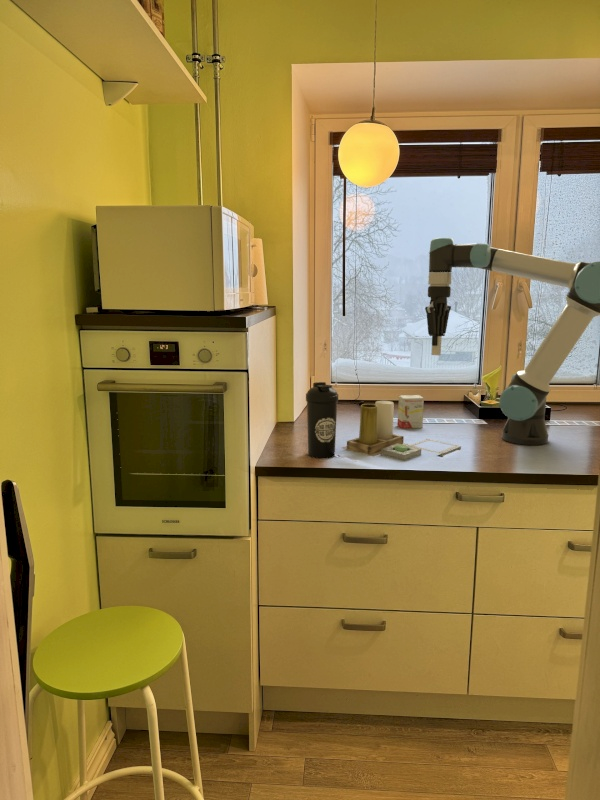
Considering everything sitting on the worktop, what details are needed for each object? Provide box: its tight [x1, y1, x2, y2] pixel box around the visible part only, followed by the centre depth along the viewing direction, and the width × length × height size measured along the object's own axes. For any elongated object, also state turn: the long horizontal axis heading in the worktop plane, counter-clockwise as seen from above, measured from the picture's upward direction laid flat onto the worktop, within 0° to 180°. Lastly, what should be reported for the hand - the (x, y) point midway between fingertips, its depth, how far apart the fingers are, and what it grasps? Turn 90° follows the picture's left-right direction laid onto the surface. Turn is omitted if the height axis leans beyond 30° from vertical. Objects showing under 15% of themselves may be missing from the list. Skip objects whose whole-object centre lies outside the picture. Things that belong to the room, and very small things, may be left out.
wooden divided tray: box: [342, 433, 409, 457], centre depth 194 cm, size 13×19×4 cm
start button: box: [395, 445, 408, 452], centre depth 184 cm, size 4×4×2 cm
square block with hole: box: [380, 443, 422, 462], centre depth 184 cm, size 9×9×3 cm
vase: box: [358, 403, 377, 446], centre depth 189 cm, size 6×6×14 cm
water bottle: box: [305, 381, 339, 460], centre depth 186 cm, size 10×10×23 cm
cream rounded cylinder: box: [374, 400, 395, 440], centre depth 195 cm, size 6×6×14 cm
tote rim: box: [406, 438, 462, 458], centre depth 194 cm, size 13×12×1 cm
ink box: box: [397, 394, 425, 429], centre depth 223 cm, size 9×5×12 cm, turn 99°
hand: (435, 354), depth 204 cm, fingers closed
